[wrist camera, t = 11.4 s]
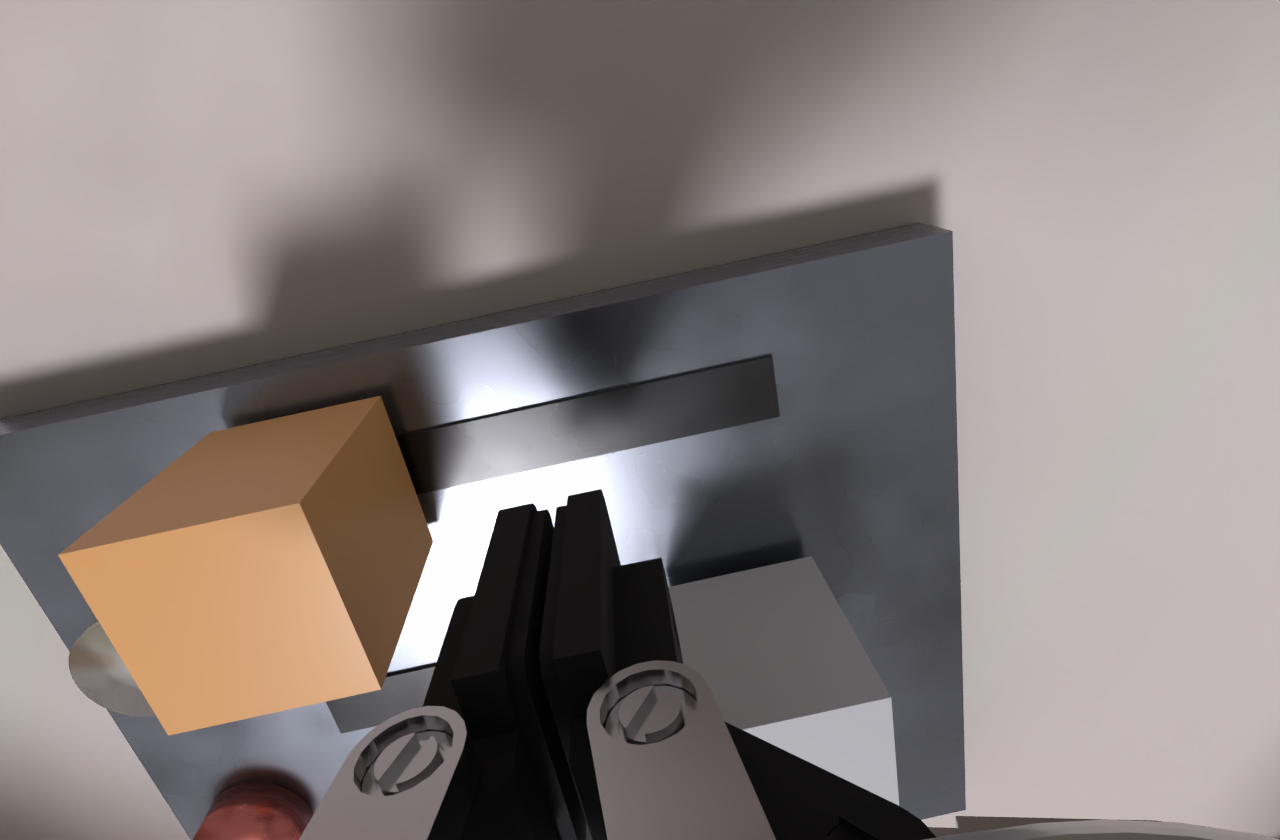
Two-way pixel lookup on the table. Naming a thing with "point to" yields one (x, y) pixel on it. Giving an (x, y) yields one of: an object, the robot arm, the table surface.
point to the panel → (576, 486)
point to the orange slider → (261, 567)
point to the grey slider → (790, 669)
